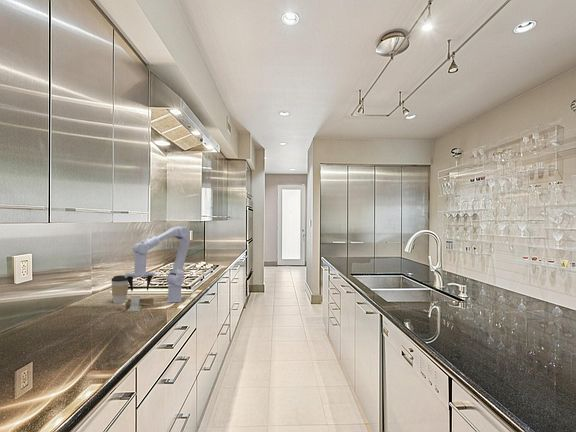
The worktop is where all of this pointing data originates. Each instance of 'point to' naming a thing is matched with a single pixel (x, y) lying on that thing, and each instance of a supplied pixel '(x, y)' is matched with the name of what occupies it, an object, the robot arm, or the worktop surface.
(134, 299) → the block
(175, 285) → the robot arm
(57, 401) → the worktop surface
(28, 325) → the worktop surface
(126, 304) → the wooden corner frame
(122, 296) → the coffee cup
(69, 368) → the worktop surface
